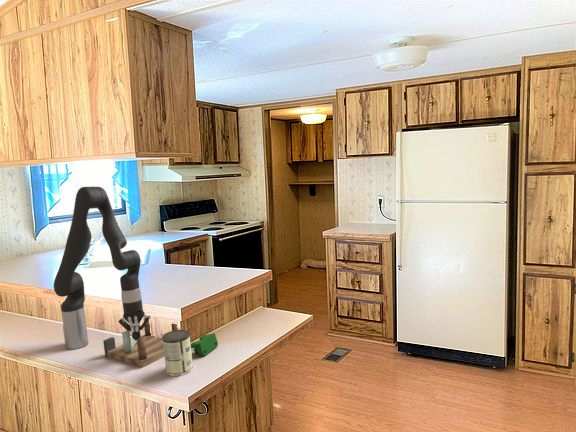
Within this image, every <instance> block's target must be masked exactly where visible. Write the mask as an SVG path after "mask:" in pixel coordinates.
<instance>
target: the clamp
mask: <svg viewBox="0 0 576 432" xmlns="http://www.w3.org/2000/svg"><path fill="white" fill-rule="evenodd" d="M190 343H191V349H193V350H194V353H195V354H198V355H199V356H200V357H204V356H205V357H206V356H207V355H208V354H210V352H212V351H214V350H215V349H216V348H218V346H219V343H218V338H217V336H216V333H215V332H214V333H208V334H207V333H206V334H204V335H201V336H200V337H199V340H196V341H192V342H190Z"/></svg>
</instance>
